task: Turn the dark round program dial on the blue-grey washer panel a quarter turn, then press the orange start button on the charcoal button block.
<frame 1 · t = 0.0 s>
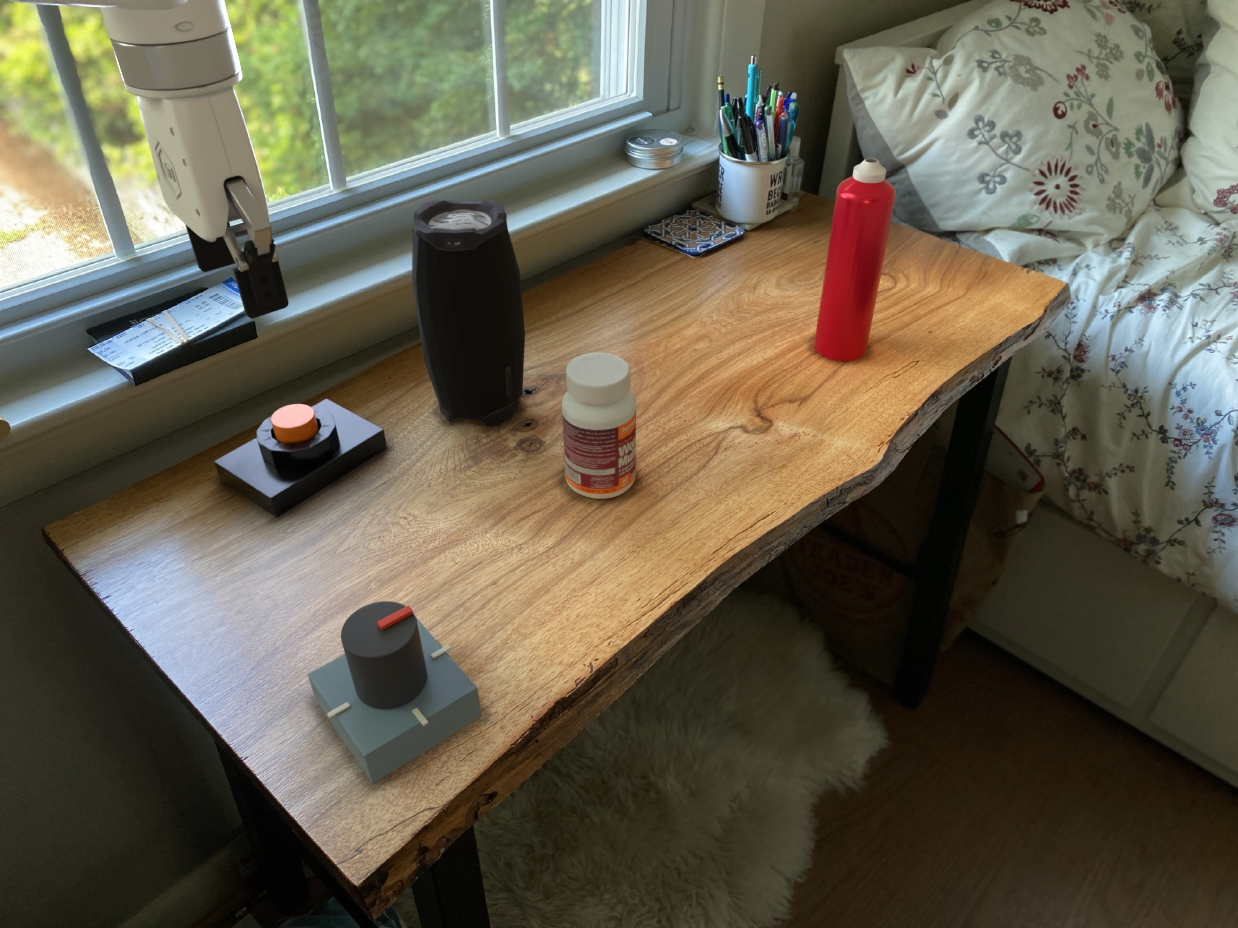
hand: (243, 288, 74), 17 cm above the table, tool pointing down, fingers open, 9 cm apart
bottle: (839, 349, 98), on the table
button block: (305, 464, 83), on the table
washer panel: (398, 709, 62), on the table
pill bottle: (600, 480, 81), on the table
program dial: (385, 653, 59), point 6 cm above the table, hinge at 0.0°
portable speaker: (481, 407, 90), on the table
start button: (294, 423, 80), point 4 cm above the table, slide at 0.1 cm
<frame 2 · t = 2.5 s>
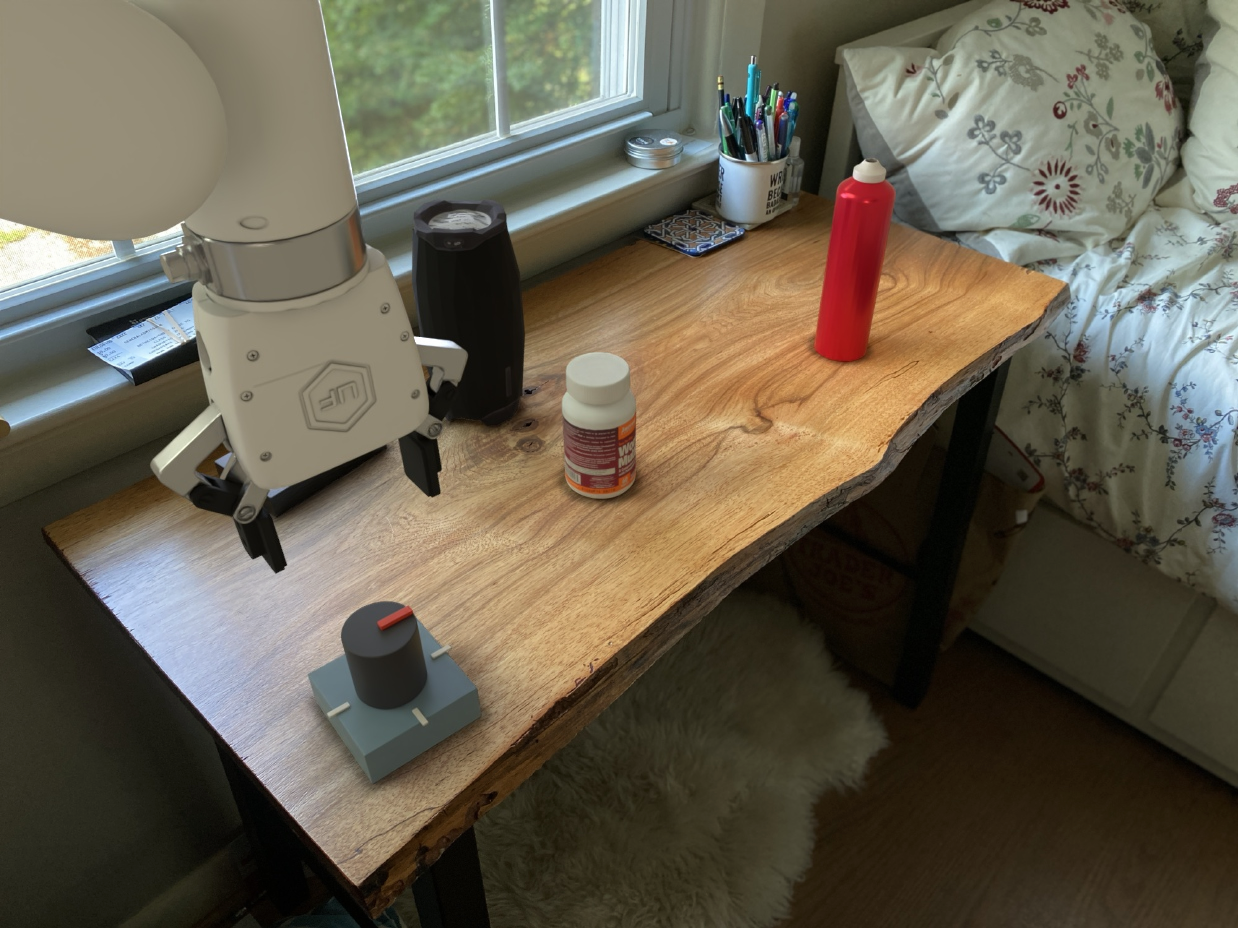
hand: (350, 519, 54), 15 cm above the table, tool pointing down, fingers open, 9 cm apart
nothing on the table moved.
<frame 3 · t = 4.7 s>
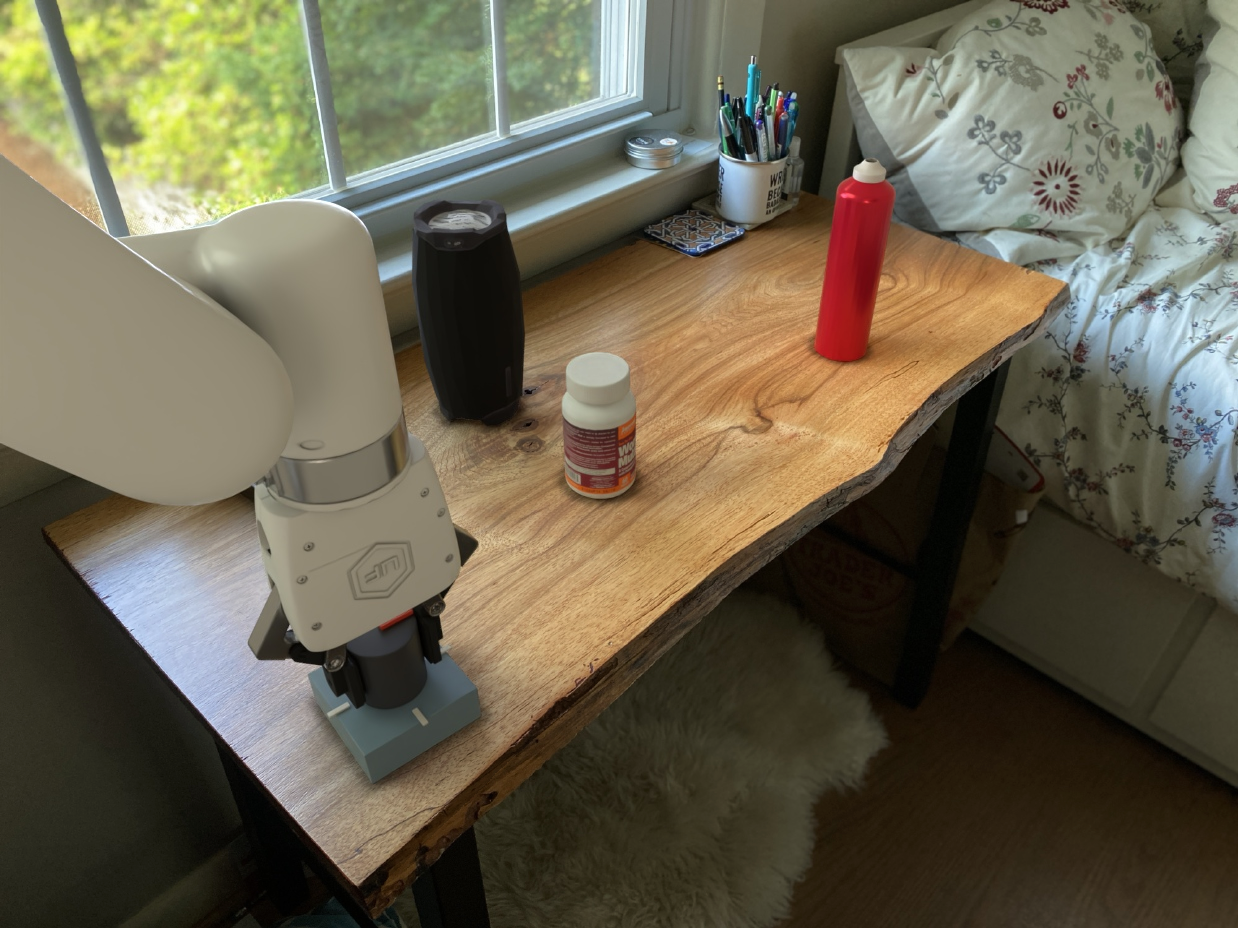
hand: (388, 668, 60), 4 cm above the table, tool pointing down, fingers closed on program dial, 4 cm apart
program dial: (385, 653, 59), point 6 cm above the table, hinge at 0.0°, touching gripper
everything else where it was.
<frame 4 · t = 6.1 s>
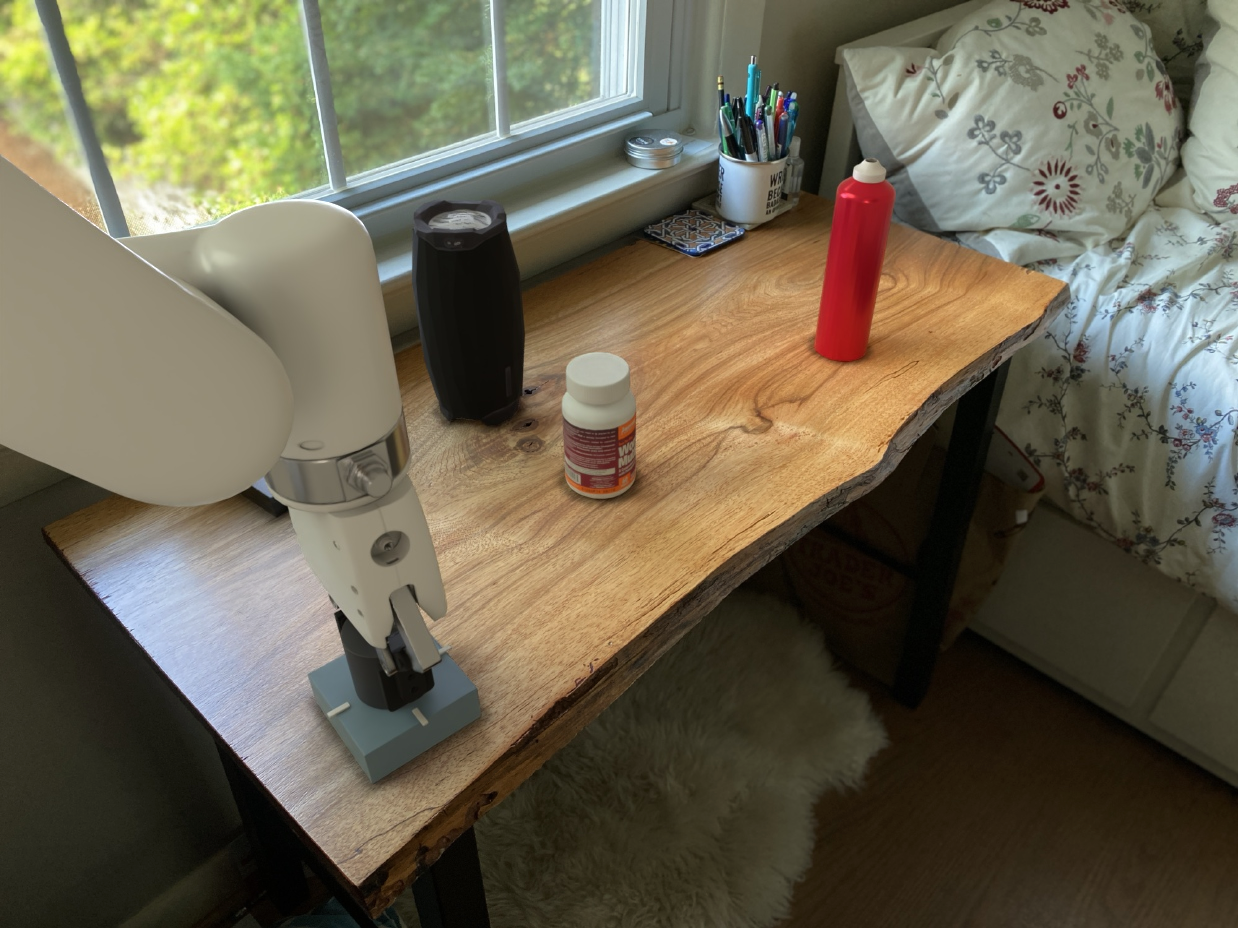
hand: (389, 668, 60), 4 cm above the table, tool pointing down, fingers closed on program dial, 4 cm apart
program dial: (385, 653, 59), point 6 cm above the table, hinge at 90.1°, touching gripper
everything else where it was.
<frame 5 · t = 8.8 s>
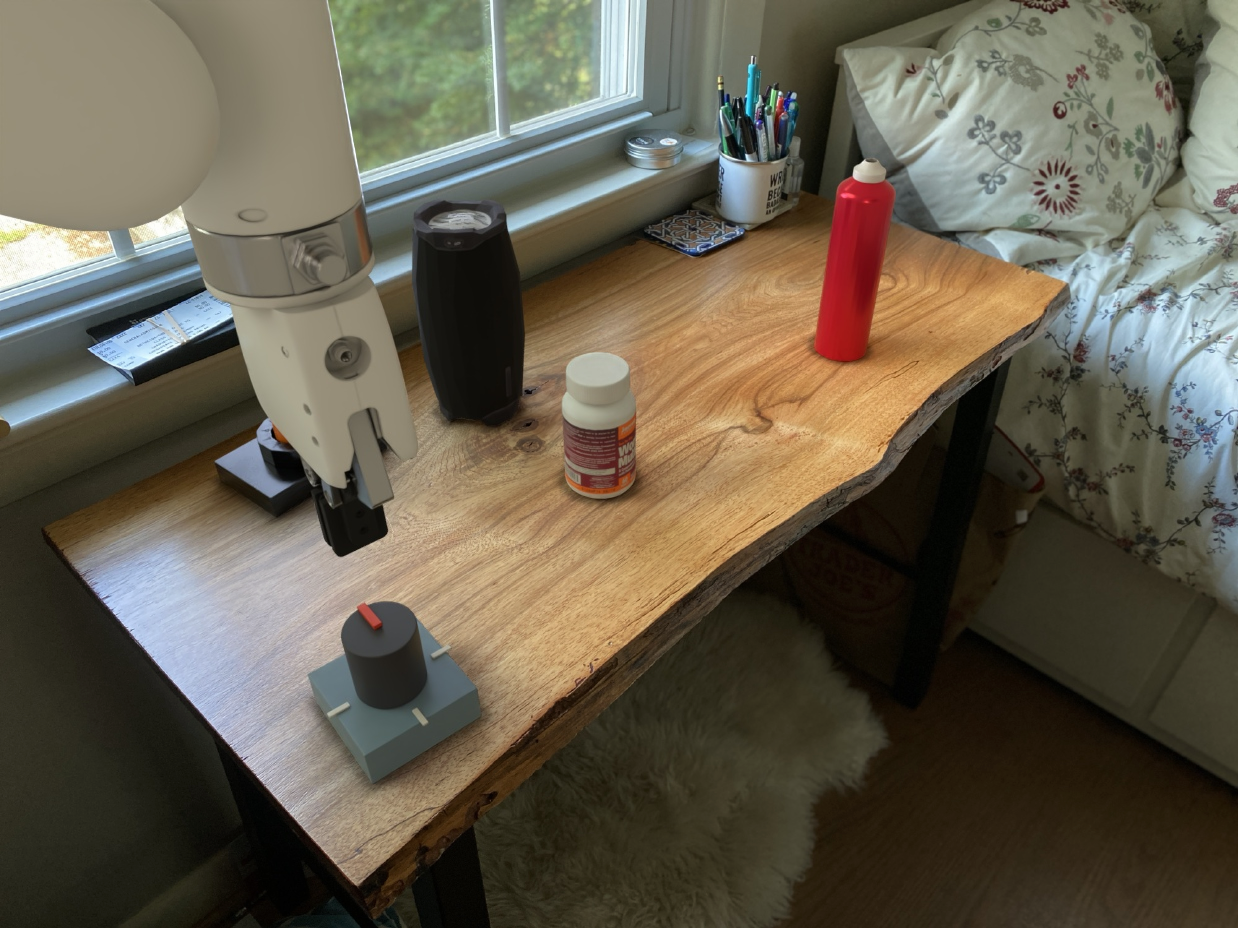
hand: (357, 538, 53), 15 cm above the table, tool pointing down, fingers closed
program dial: (385, 653, 59), point 6 cm above the table, hinge at 90.7°
everything else where it was.
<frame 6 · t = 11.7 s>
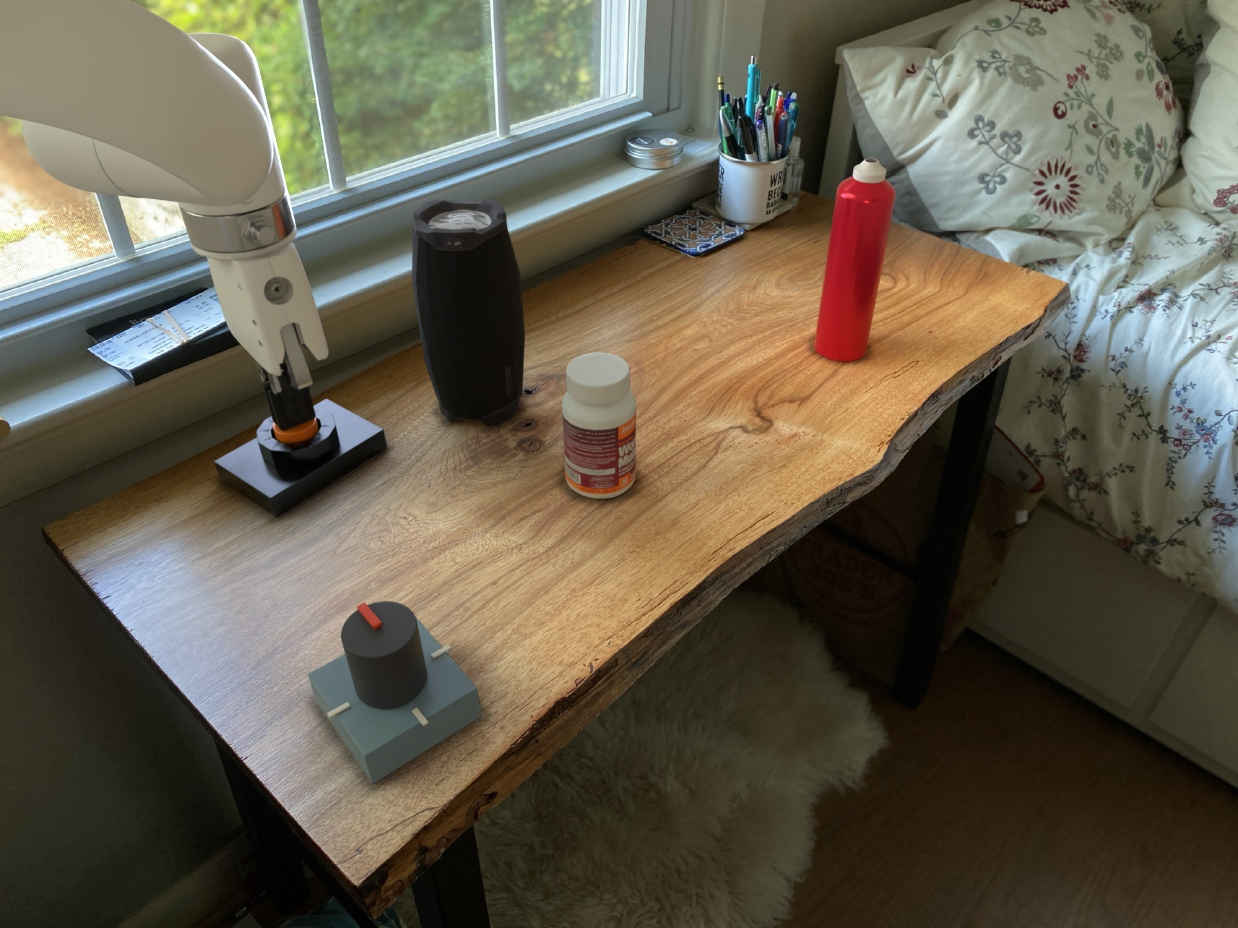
hand: (295, 420, 80), 5 cm above the table, tool pointing down, fingers closed
start button: (296, 430, 80), point 4 cm above the table, slide at -0.6 cm, touching gripper
everything else where it was.
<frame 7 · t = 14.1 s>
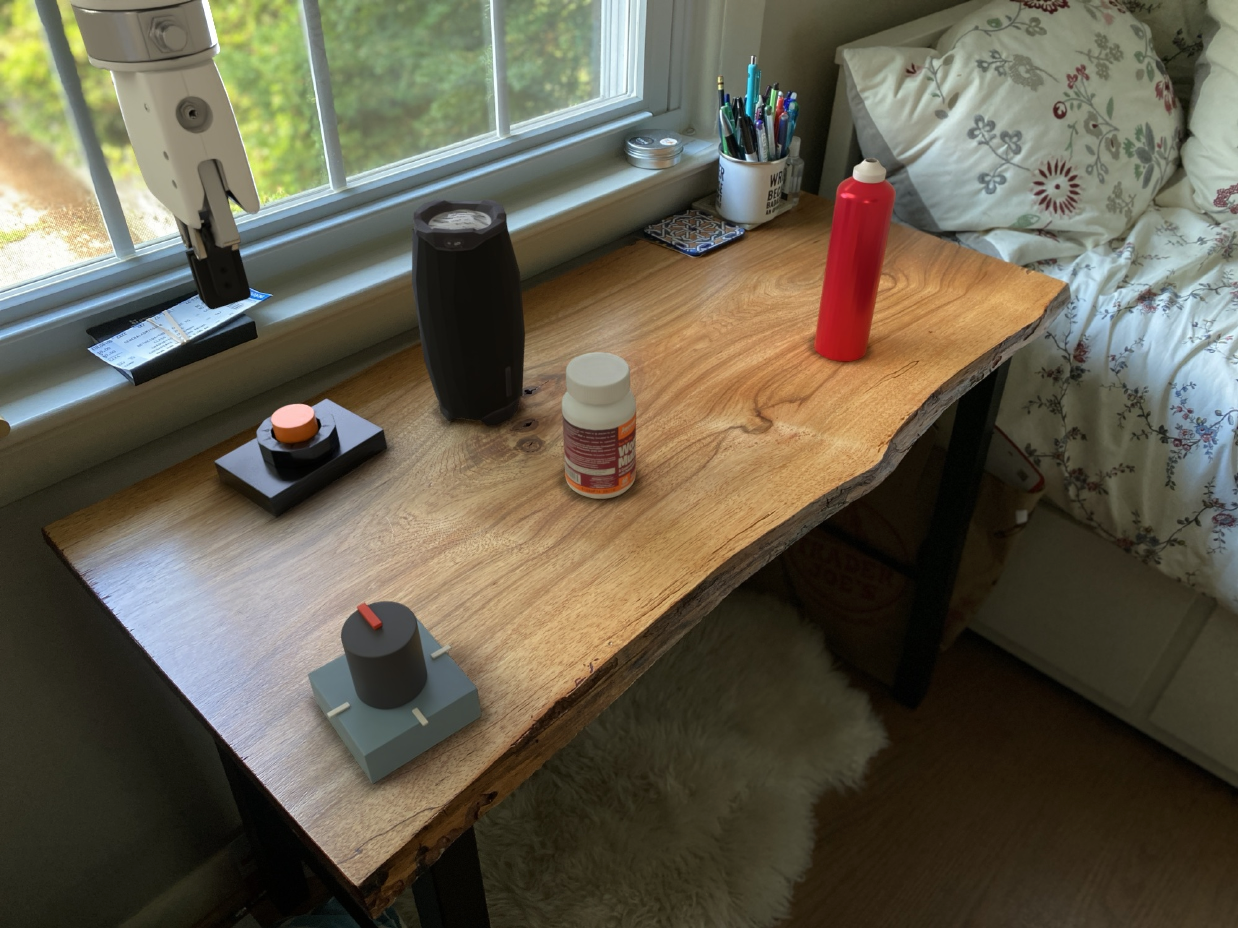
hand: (226, 299, 68), 19 cm above the table, tool pointing down, fingers closed
start button: (294, 423, 80), point 4 cm above the table, slide at 0.1 cm
everything else where it was.
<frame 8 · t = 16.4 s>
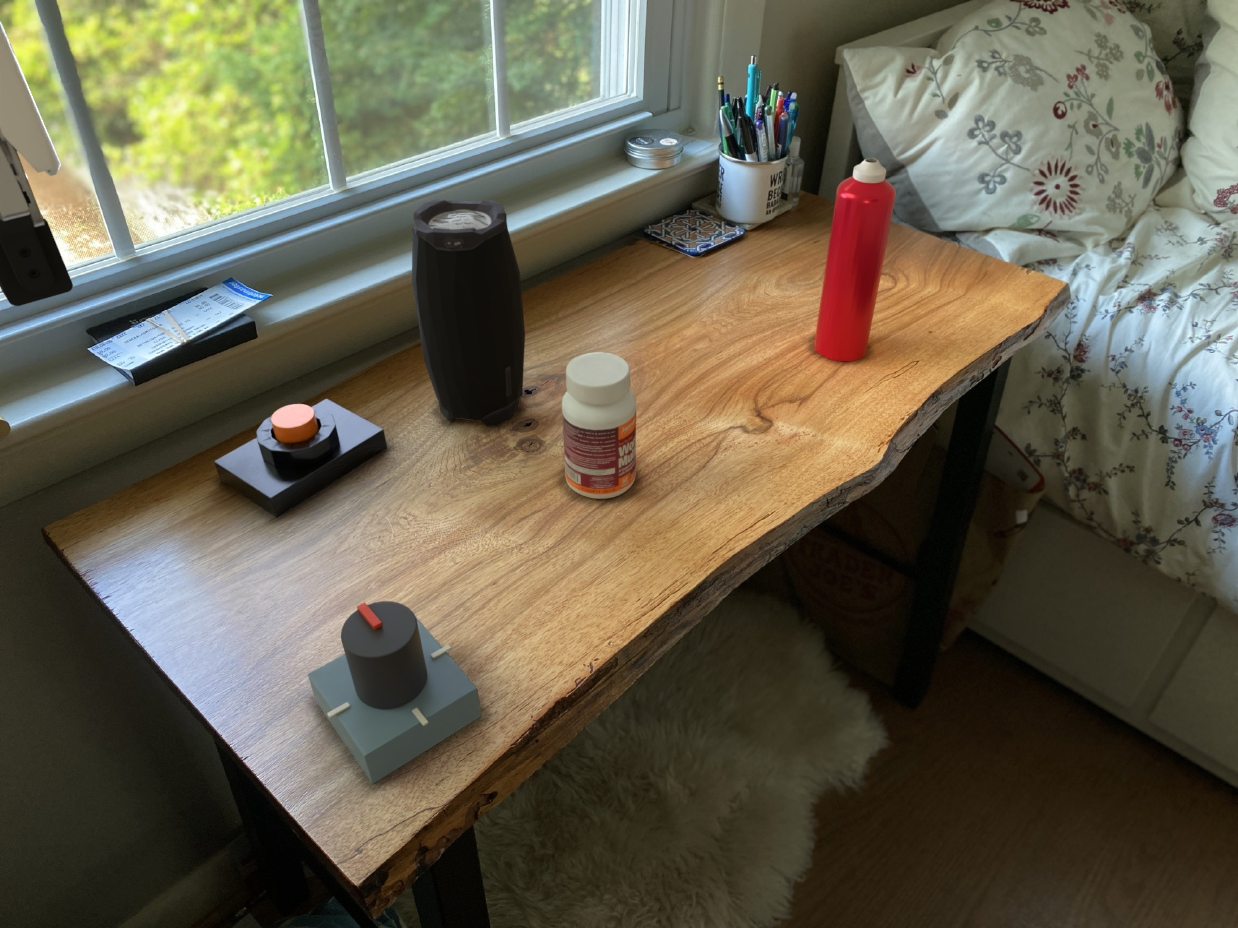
hand: (39, 292, 51), 27 cm above the table, tool pointing down, fingers closed
nothing on the table moved.
at the end: program dial at +91° (first picture: +0°); start button pushed in 1.1 cm at the most during the clip, back to where it started at the end; start button slide at 0.1 cm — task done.
